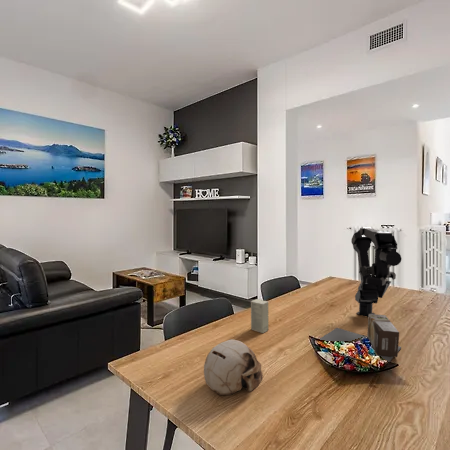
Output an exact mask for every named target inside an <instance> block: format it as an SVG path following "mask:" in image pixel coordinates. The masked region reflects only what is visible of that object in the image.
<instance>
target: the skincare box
mask: <svg viewBox="0 0 450 450" xmlns="http://www.w3.org/2000/svg"><path fill="white" fill-rule="evenodd" d="M250 328H251V329H250V330H252V331H255V332H258V333H261V334H264V333H266V332H268V331H269V301H267V300H264V299H259V298H256V299H253V300H251V301H250Z"/></svg>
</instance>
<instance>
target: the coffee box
mask: <svg viewBox="0 0 450 450" xmlns="http://www.w3.org/2000/svg"><path fill="white" fill-rule="evenodd" d="M367 319H368V320H367V334H366V336H367V337H368V338H369V340H370V342H371V343H372V345H373V347H374V349H375V351H376V353H377V354H378V355H380V356H387V357H393V358H398V356H399V355H398V353H399V352H398V346H399V342H400V332H399V330H398V329H397V327H396V326H395V325H394V324H393V322H391V320H390V319H389V318H388V317H387V315H384V314H376V313H375V314H369V317H367Z"/></svg>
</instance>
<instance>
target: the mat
mask: <svg viewBox="0 0 450 450" xmlns="http://www.w3.org/2000/svg"><path fill="white" fill-rule="evenodd" d="M361 337H367V338H368V336H367V335H364V334H361V333H356V332H353V331H350V330H346V329H343V328H339V327H335V328H334V329H332V330H331V331H329V332H327V333H326V334H324V335H323V336H322V337H320V338H319V339H320V340H325V341H334V342H335V341H352V340H355V339H358V338H361ZM368 339H369V338H368ZM371 345H372V343H371ZM372 348H373V349H374V347H373V345H372ZM401 349H402V346H399V345H398V353H399V352H400V350H401ZM374 350H375V349H374ZM375 352H376V351H375ZM379 356H380V355H379ZM381 357H382V358H383V359H385V360H387V361H388V362H389V363H390V362H391V361H392V360H393V359H394V357H387V356H381Z"/></svg>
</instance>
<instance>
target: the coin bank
mask: <svg viewBox="0 0 450 450" xmlns="http://www.w3.org/2000/svg"><path fill="white" fill-rule="evenodd" d="M203 376H204V382H205V383H206V385H207V386H208V387H209V388H210V390H212V391H214V392H215V393H217V394H218V395H219V396H230V395H233V394H235V393H236V392H238V391H241V389H242V388H243V389H245V391H247V392H252V391H253V390H255V389H256V388H257V387H258V386H259V385H260V384H261V382H262V381H263V377H264V375H263V371H262V364H261V363H260V361H259V360H258V358H257V357H256V354H255V353H254V351H253V349H252V348H250V347H249V346H248V345H247V344H245V343H244V342H242V341H241V340H237V339H228V340H225V341H222V342H220V343H218V344H217V345H215V346H213V347H212V349H210V351H208V353H207V355H206V357H205V361H204V364H203Z"/></svg>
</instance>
